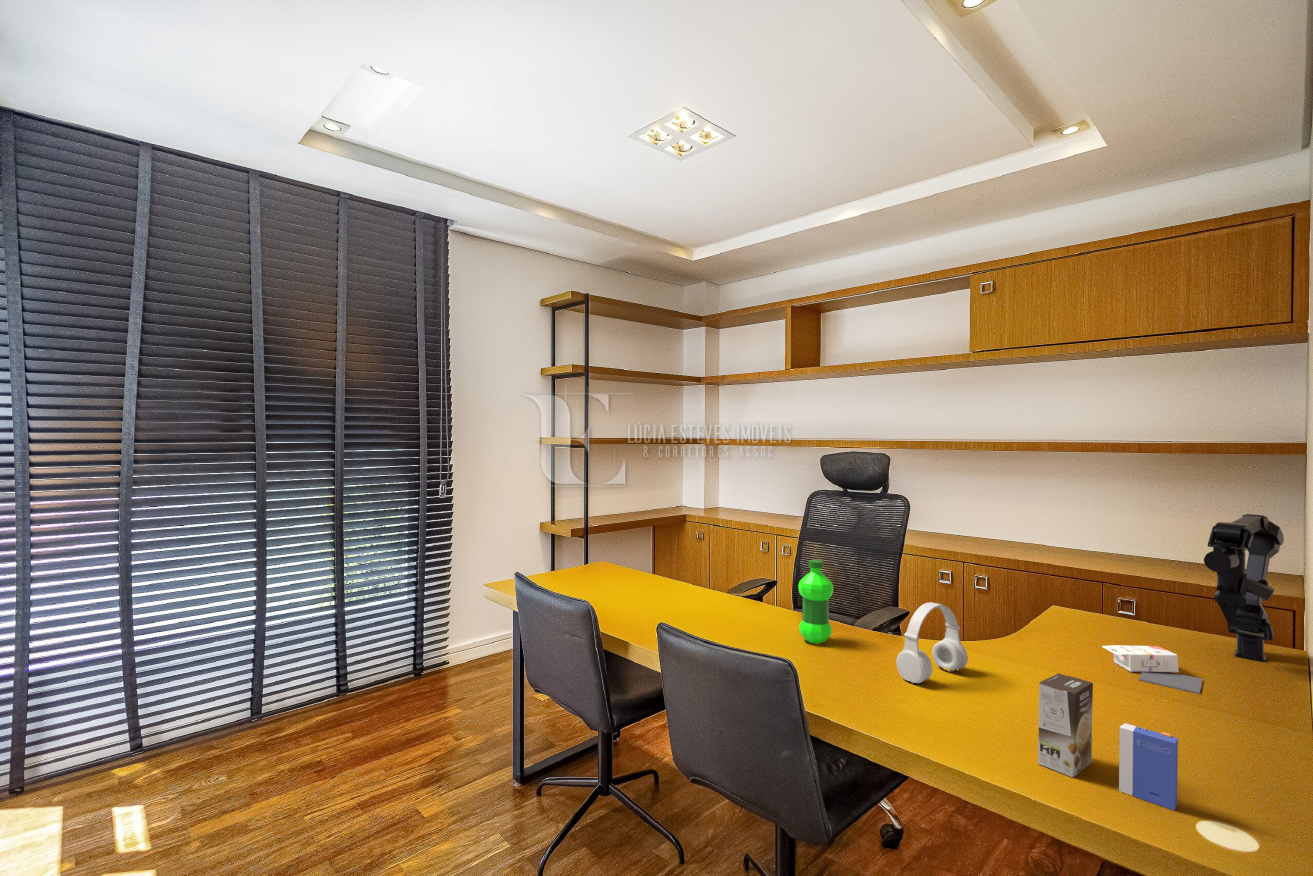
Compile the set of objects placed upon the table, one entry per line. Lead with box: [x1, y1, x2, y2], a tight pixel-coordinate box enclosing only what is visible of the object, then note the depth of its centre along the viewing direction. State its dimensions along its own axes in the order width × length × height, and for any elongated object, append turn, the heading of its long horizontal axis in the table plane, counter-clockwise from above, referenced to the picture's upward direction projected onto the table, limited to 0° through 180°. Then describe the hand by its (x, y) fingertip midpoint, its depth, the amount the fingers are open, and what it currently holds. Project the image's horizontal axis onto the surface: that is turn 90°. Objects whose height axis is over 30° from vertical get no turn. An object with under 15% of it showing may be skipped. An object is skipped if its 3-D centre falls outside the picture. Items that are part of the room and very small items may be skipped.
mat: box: [1138, 672, 1203, 695], centre depth 161 cm, size 12×12×1 cm
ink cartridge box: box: [1101, 644, 1180, 673], centre depth 169 cm, size 9×5×15 cm
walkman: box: [1118, 722, 1179, 811], centre depth 109 cm, size 8×3×12 cm, turn 42°
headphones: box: [895, 601, 969, 684], centre depth 163 cm, size 20×8×19 cm, turn 121°
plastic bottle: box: [797, 559, 834, 644], centre depth 190 cm, size 10×10×25 cm
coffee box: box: [1037, 673, 1094, 778], centre depth 120 cm, size 9×6×16 cm
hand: (1230, 624), depth 171 cm, fingers closed
